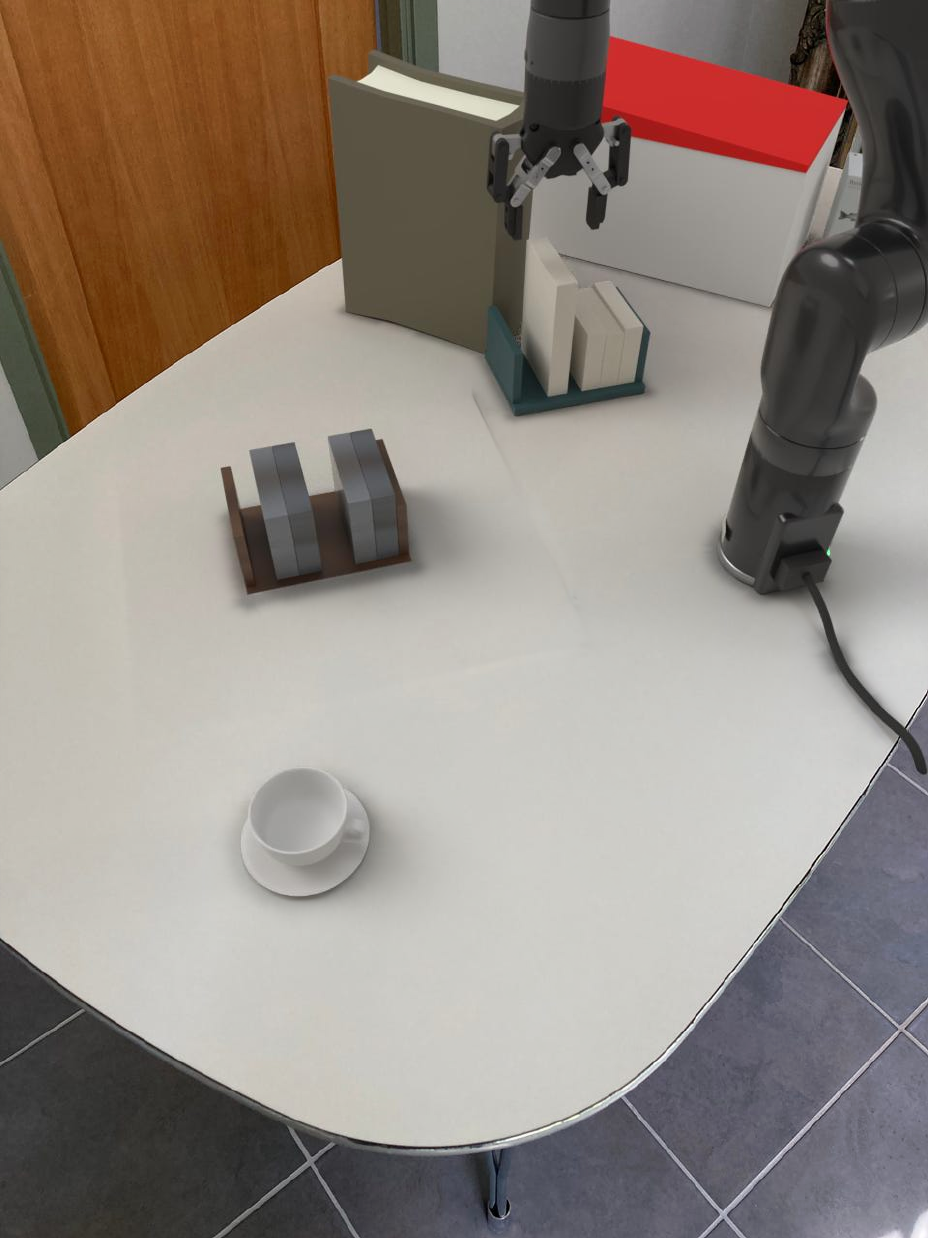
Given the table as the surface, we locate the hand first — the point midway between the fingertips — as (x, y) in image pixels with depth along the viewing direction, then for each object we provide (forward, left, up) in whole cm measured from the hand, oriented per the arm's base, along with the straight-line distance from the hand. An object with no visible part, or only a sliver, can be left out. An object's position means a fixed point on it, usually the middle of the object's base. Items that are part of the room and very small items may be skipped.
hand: (554, 231), depth 100 cm
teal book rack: (0, -2, -18) cm, 18 cm away
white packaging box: (+15, -49, -18) cm, 55 cm away
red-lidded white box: (+26, -27, -18) cm, 42 cm away
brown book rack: (-20, +31, -18) cm, 41 cm away
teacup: (-52, +38, -18) cm, 67 cm away
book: (+16, +9, -19) cm, 26 cm away
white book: (0, 0, -17) cm, 17 cm away
